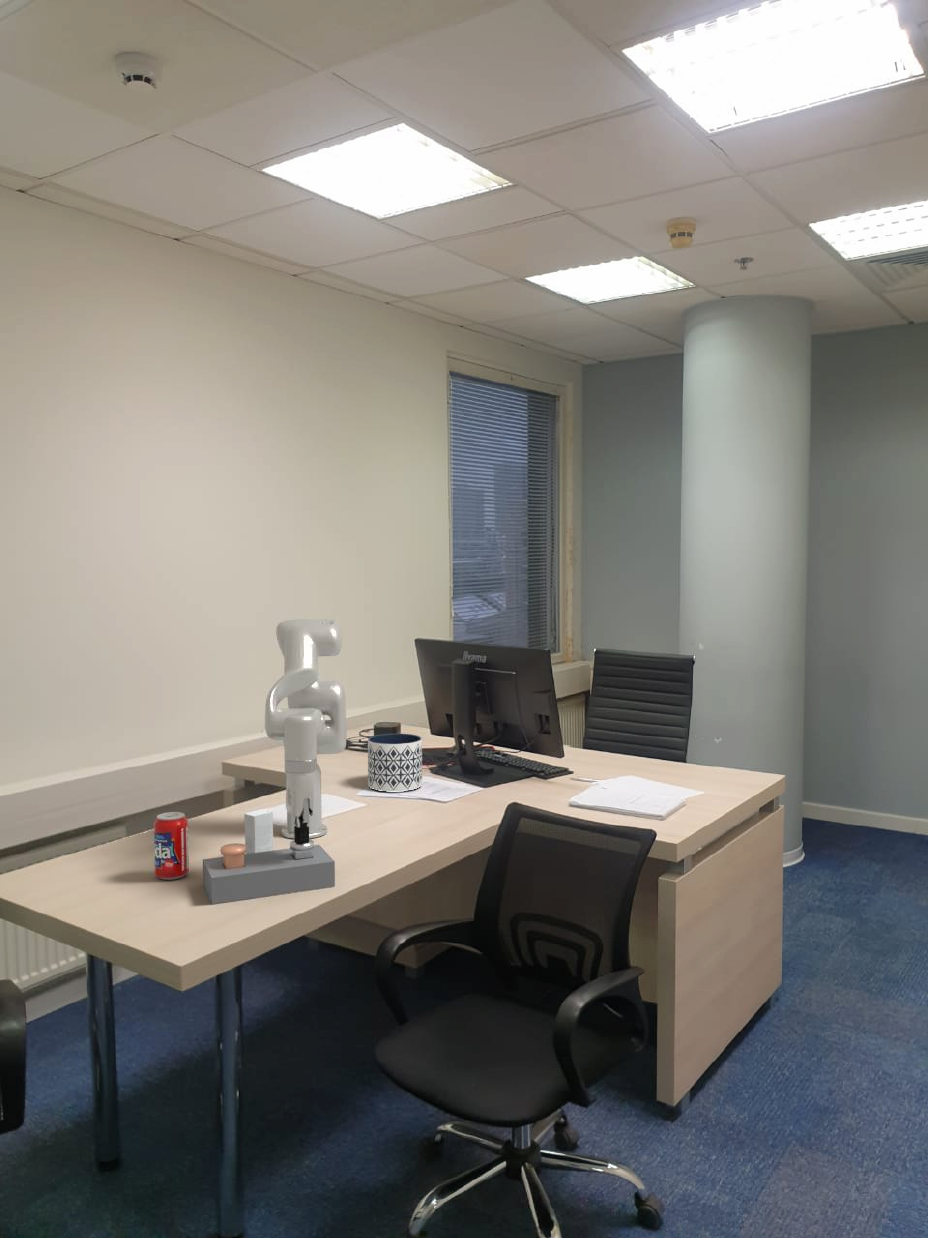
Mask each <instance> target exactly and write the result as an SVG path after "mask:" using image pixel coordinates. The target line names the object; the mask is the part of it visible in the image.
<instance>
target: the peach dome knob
mask: <svg viewBox="0 0 928 1238" xmlns="http://www.w3.org/2000/svg"><path fill="white" fill-rule="evenodd" d="M245 852H246V845H245V844H244V843H239V842H238V843H227V844H224V845H222V846H221V847H220V854H221V855H222V857H223V866H224V868H225V869H232V868H239V867H244V854H246V853H245Z"/></svg>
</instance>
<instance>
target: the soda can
mask: <svg viewBox="0 0 928 1238" xmlns="http://www.w3.org/2000/svg"><path fill="white" fill-rule="evenodd" d="M153 843H154V844H153V846H154V847H153V849H154V851H153V852H154V853H153V855H154V875H155V877H157V878H159V879H160V880H163V881H174V880H179V879H182V878H184V876H186V875H187V874H188V873H189V871H190V860H189V859H190V856H189V853H190V851H189V850H190V849H189V820H188V819H187V818H186V814H185V813H183V812H180V811H171V812H170V811H169V812H162V813H160V814H157V815H156V819H155V821H154V822H153Z"/></svg>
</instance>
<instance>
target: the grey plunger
mask: <svg viewBox="0 0 928 1238" xmlns="http://www.w3.org/2000/svg"><path fill="white" fill-rule="evenodd" d="M314 845H315V842H314V840H313V839H311V838H309V843H304V844H296V843H295V842H294V839H292V840H291V841H290V842H289V848H290V849H291V850H292V857H293V859H294V860H299V859H307V858H312V849H313V848H314Z"/></svg>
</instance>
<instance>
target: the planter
mask: <svg viewBox="0 0 928 1238" xmlns="http://www.w3.org/2000/svg"><path fill="white" fill-rule="evenodd" d="M421 785H422V786H423V738H422V736H419V735H417V734H410V733H385V734H384V733H383V734H377V735H373V736H370V737H368V738H367V786H368V788H369V787H371V788H374V789H377V790H382V791H402V790H410V789H414V788H417V787H419V786H421ZM422 786H421V787H422ZM371 788H370V789H371Z"/></svg>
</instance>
